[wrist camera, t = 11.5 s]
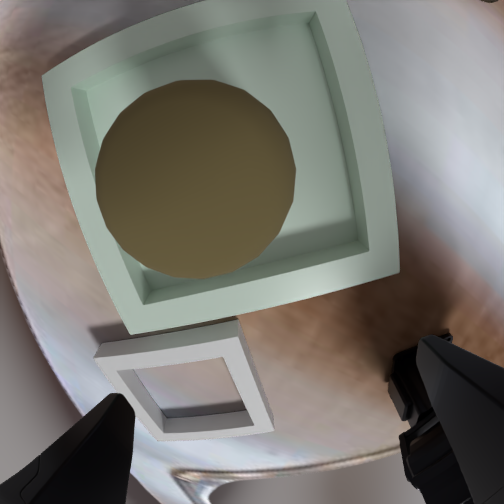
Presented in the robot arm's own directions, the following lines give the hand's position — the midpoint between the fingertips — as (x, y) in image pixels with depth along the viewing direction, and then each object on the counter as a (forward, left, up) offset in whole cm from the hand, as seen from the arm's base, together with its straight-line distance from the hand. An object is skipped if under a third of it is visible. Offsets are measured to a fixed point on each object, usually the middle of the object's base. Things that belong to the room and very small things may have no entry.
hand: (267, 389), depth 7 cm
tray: (+1, -6, -12) cm, 13 cm away
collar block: (+9, +11, -12) cm, 19 cm away
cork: (+1, -6, -12) cm, 13 cm away
